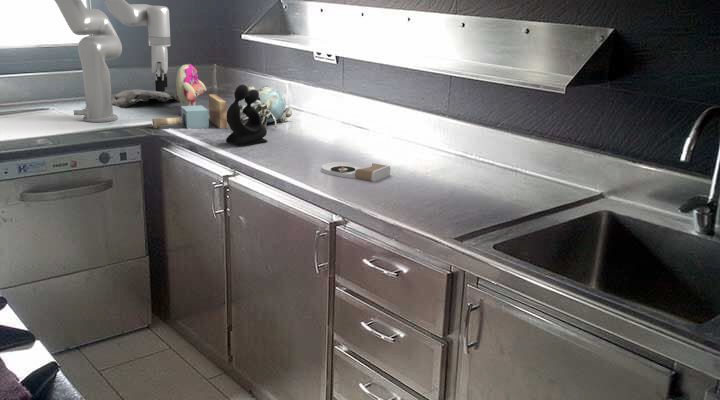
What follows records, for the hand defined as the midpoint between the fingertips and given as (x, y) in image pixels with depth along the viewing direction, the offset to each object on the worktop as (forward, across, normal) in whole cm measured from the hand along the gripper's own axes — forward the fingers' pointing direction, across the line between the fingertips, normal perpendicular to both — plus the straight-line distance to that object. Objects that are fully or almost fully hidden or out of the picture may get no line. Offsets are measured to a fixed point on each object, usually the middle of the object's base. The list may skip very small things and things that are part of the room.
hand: (161, 89), depth 254 cm
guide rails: (+14, 0, +3) cm, 14 cm away
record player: (+13, +68, +60) cm, 92 cm away
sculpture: (+14, -3, +38) cm, 40 cm away
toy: (+14, -28, +9) cm, 32 cm away
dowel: (+13, -1, +1) cm, 13 cm away
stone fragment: (+15, -51, -11) cm, 54 cm away
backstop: (+14, -5, +20) cm, 25 cm away
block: (+14, -3, +11) cm, 18 cm away
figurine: (+14, +28, +30) cm, 43 cm away
